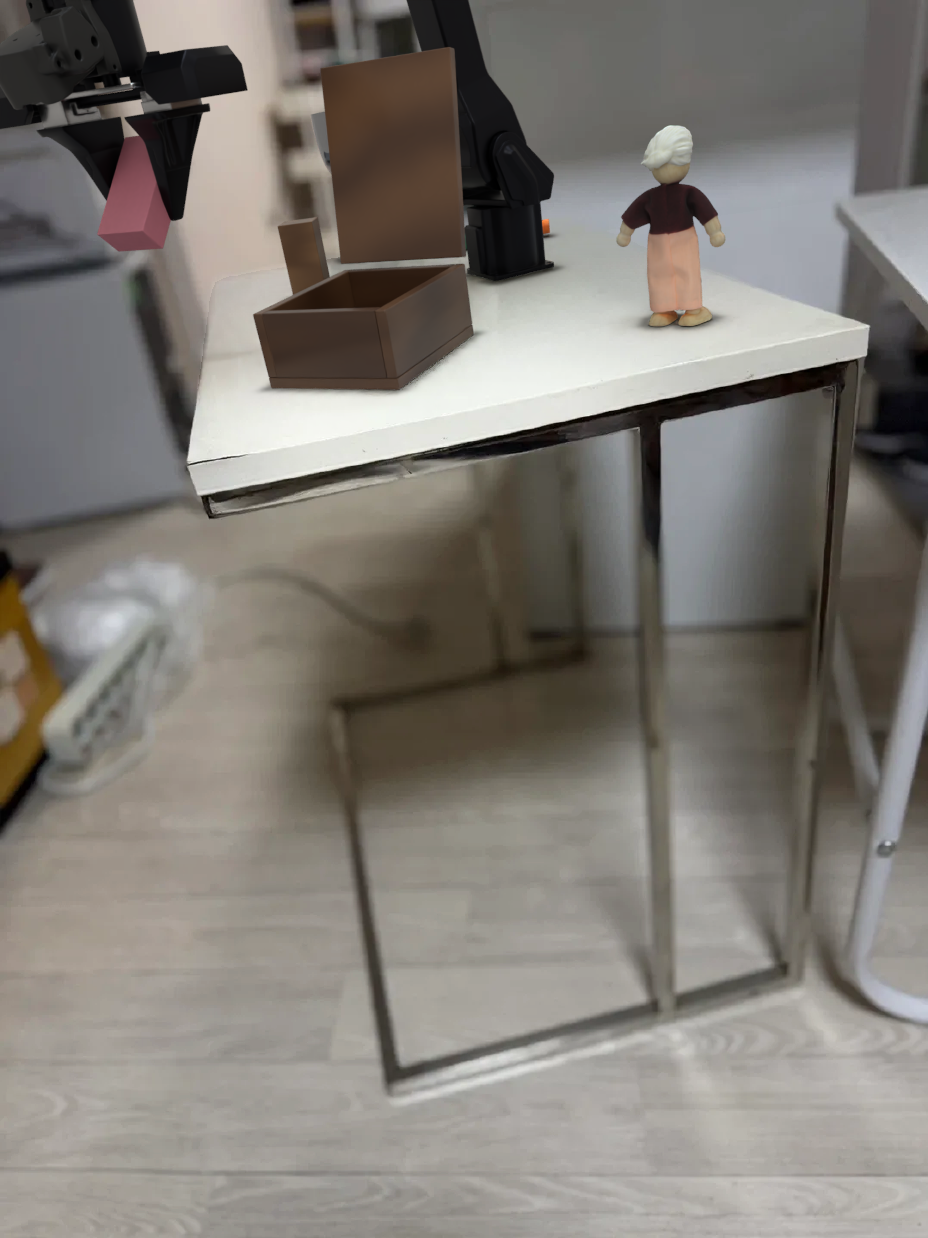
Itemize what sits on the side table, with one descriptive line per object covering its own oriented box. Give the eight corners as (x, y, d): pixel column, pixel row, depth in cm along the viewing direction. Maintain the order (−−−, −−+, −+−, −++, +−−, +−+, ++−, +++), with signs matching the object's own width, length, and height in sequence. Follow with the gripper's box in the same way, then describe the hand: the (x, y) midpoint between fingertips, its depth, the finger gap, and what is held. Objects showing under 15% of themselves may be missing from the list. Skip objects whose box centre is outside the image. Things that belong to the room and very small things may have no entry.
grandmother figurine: (728, 311, 67) (731, 115, 61) (723, 326, 64) (725, 122, 58) (624, 316, 70) (615, 129, 63) (614, 331, 67) (604, 136, 60)
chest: (399, 390, 62) (385, 310, 59) (270, 388, 66) (252, 314, 63) (474, 334, 71) (465, 263, 68) (357, 336, 76) (344, 269, 73)
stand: (332, 291, 93) (317, 216, 89) (327, 297, 90) (311, 221, 87) (300, 295, 93) (284, 221, 89) (294, 301, 91) (277, 226, 87)
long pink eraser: (145, 157, 70) (124, 137, 68) (190, 151, 68) (170, 130, 66) (118, 252, 69) (96, 234, 67) (163, 249, 67) (142, 230, 65)
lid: (449, 47, 63) (454, 48, 63) (319, 68, 67) (325, 69, 68) (461, 257, 68) (466, 256, 69) (340, 264, 72) (346, 263, 73)
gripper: (-121, -6, 58) (-20, 253, 66) (96, -63, 50) (179, 238, 59) (16, -9, 66) (90, 221, 75) (220, -58, 59) (278, 205, 67)
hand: (152, 222), depth 68 cm, fingers closed on long pink eraser, 4 cm apart
